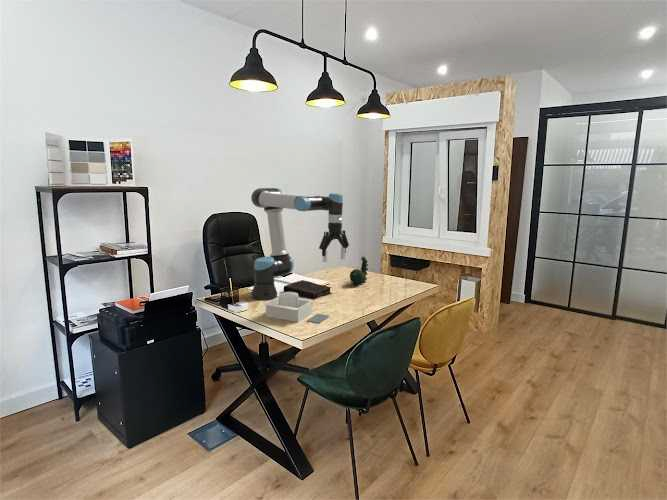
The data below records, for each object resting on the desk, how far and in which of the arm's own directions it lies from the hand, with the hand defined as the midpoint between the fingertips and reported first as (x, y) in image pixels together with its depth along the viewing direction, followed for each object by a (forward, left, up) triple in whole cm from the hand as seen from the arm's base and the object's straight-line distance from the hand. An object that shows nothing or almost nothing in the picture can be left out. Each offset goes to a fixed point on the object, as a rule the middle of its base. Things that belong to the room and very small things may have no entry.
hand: (333, 260), depth 219 cm
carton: (-13, -26, -26) cm, 39 cm away
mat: (+3, -24, -26) cm, 35 cm away
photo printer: (-13, -26, -26) cm, 39 cm away
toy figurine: (-4, +53, -26) cm, 60 cm away
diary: (-24, +16, -27) cm, 40 cm away
